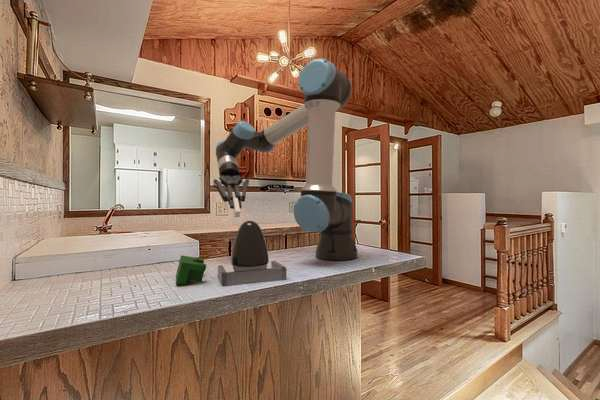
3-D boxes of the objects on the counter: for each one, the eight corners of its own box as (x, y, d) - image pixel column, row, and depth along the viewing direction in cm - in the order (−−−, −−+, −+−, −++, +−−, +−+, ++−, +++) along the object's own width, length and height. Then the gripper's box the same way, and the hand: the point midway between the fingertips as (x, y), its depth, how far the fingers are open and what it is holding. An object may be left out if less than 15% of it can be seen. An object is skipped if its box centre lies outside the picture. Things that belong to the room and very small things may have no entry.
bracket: (275, 271, 88) (275, 260, 88) (286, 279, 78) (286, 267, 78) (217, 276, 82) (217, 265, 82) (222, 286, 73) (222, 273, 73)
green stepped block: (197, 300, 76) (206, 270, 73) (172, 297, 74) (181, 266, 71) (198, 272, 87) (207, 245, 84) (177, 269, 84) (185, 241, 82)
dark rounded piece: (270, 271, 88) (269, 219, 88) (266, 280, 78) (266, 221, 78) (235, 271, 88) (235, 219, 88) (227, 280, 77) (226, 222, 78)
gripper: (244, 177, 119) (255, 221, 103) (210, 177, 114) (216, 223, 98) (247, 162, 114) (258, 205, 98) (211, 161, 109) (217, 206, 93)
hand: (237, 214), depth 98 cm, fingers closed
